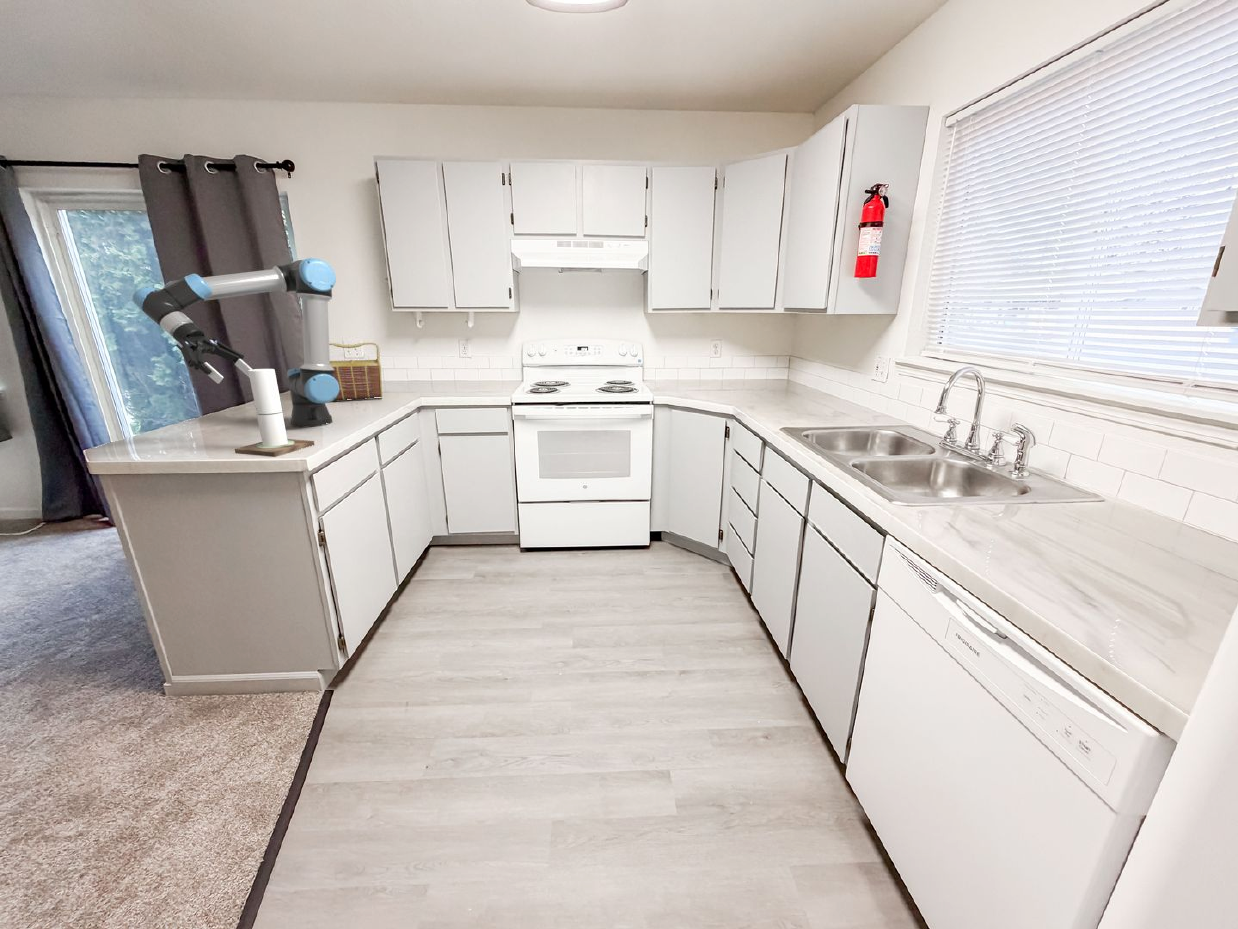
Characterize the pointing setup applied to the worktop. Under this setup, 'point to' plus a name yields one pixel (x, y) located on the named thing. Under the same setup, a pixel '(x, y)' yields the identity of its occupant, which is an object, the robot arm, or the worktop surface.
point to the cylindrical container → (268, 407)
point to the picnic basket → (358, 376)
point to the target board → (274, 448)
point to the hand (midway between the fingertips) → (237, 378)
